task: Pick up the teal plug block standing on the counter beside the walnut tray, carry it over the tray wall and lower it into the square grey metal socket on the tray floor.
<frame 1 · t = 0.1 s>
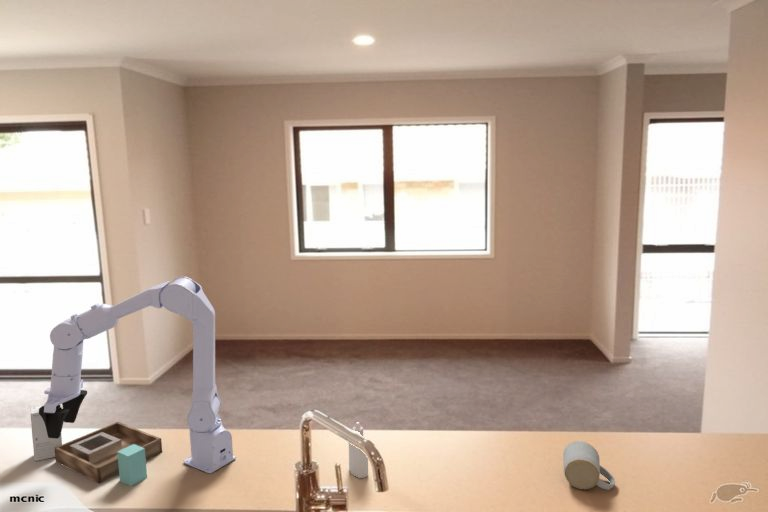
hand: (61, 429, 122), 11 cm above the worktop, tool pointing down, fingers open, 7 cm apart
skincare box: (49, 455, 131), on the worktop
metal socket: (97, 458, 129), resting on walnut tray
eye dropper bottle: (358, 473, 122), on the worktop
walnut tray: (109, 456, 130), on the worktop
ceramic mug: (587, 482, 117), on the worktop
teal plug: (133, 479, 120), on the worktop
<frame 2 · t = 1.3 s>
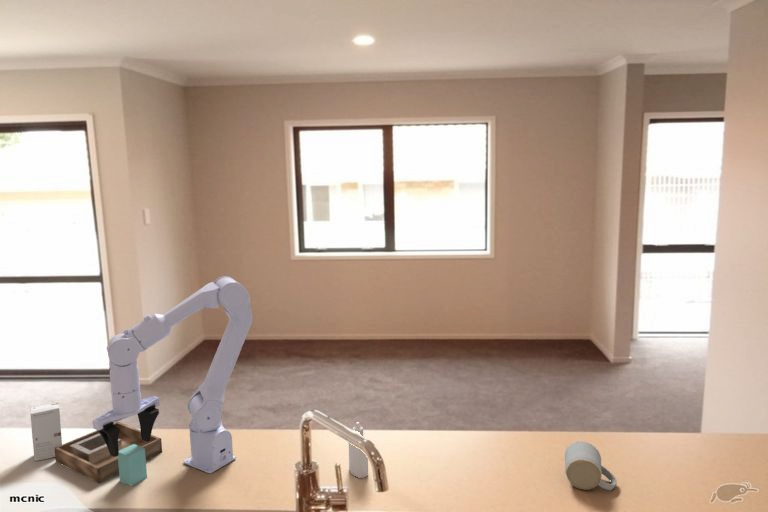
hand: (130, 447, 119), 8 cm above the worktop, tool pointing down, fingers open, 7 cm apart
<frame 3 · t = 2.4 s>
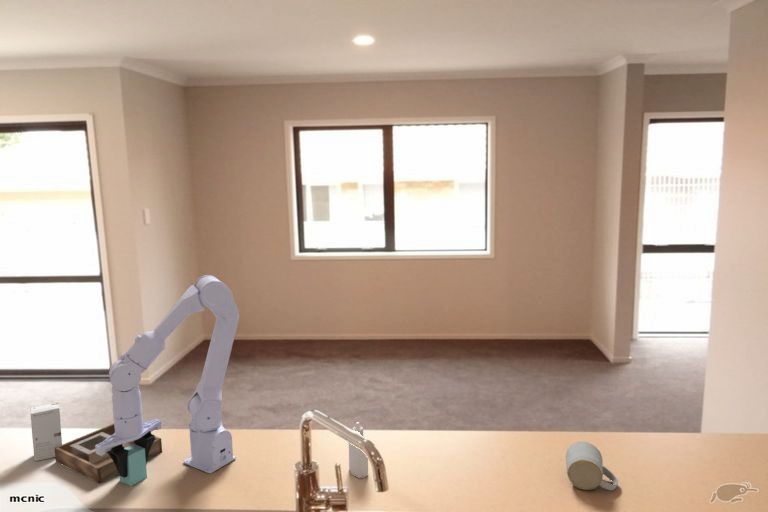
hand: (132, 471, 120), 2 cm above the worktop, tool pointing down, fingers closed on teal plug, 4 cm apart
teal plug: (133, 479, 120), on the worktop, touching gripper
everything else where it was.
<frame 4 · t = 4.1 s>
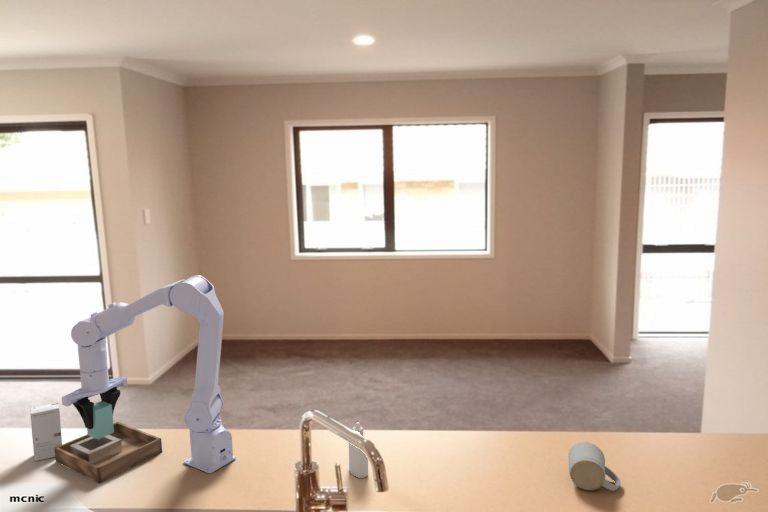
hand: (98, 423, 126), 10 cm above the worktop, tool pointing down, fingers closed on teal plug, 4 cm apart
teal plug: (100, 433, 126), point 7 cm above the worktop, touching gripper
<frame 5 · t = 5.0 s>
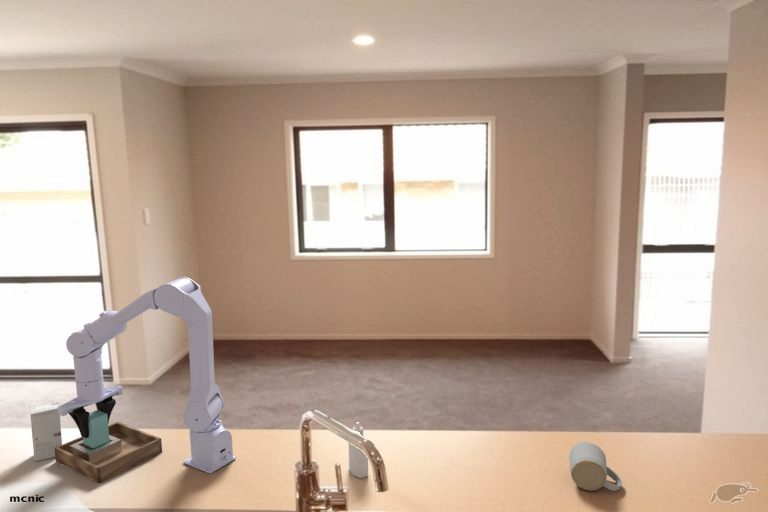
hand: (94, 432, 128), 7 cm above the worktop, tool pointing down, fingers closed on teal plug, 4 cm apart
teal plug: (96, 442, 128), point 4 cm above the worktop, touching gripper
when the fingers open (5 cm above the worktop, at t = 5.8 s): teal plug drops 2 cm, resting on walnut tray.
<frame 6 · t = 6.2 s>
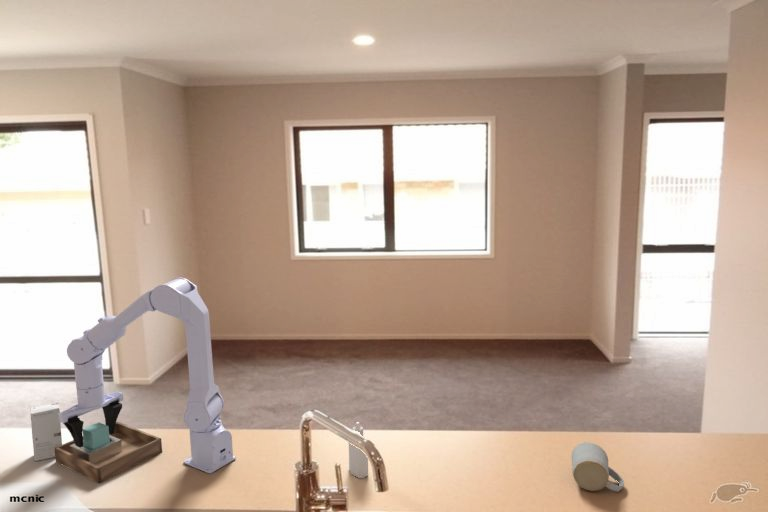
hand: (95, 439, 129), 5 cm above the worktop, tool pointing down, fingers open, 7 cm apart
teal plug: (98, 454, 129), point 1 cm above the worktop, touching walnut tray
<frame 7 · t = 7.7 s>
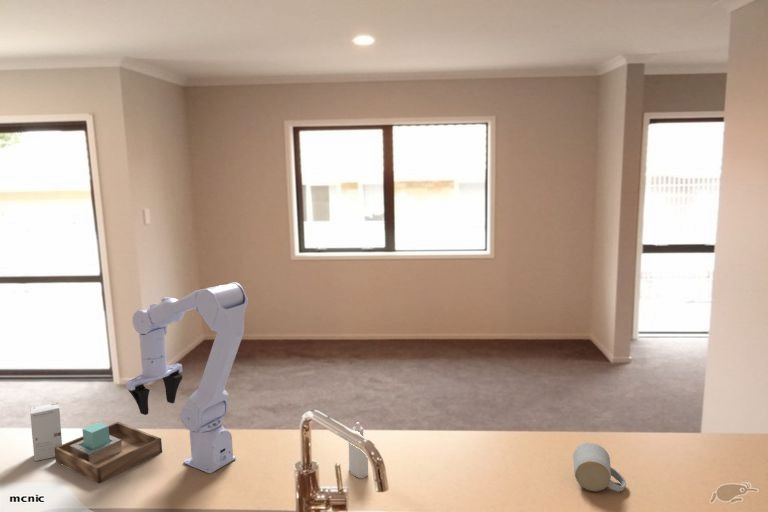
hand: (157, 407, 134), 10 cm above the worktop, tool pointing down, fingers open, 7 cm apart
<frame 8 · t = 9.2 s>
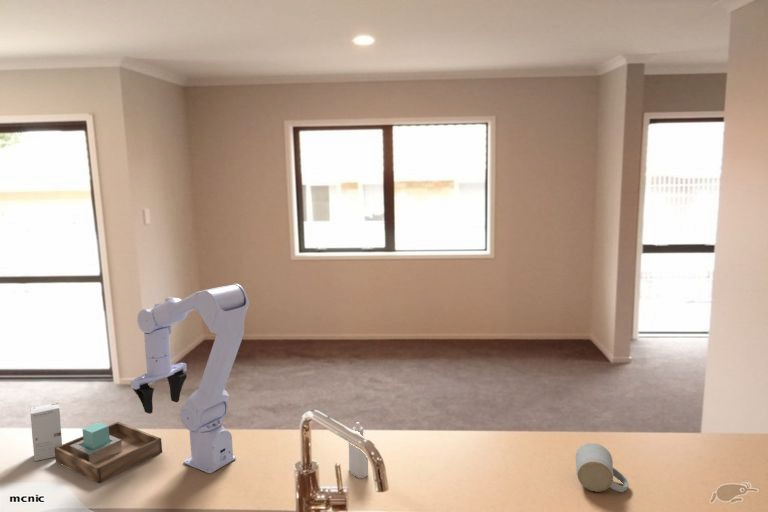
hand: (162, 406, 135), 10 cm above the worktop, tool pointing down, fingers open, 7 cm apart
at the end: teal plug 0.5 cm off-centre on the metal socket, point 1.0 cm above the metal socket's base; teal plug tilted 0°; the gripper is holding nothing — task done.
